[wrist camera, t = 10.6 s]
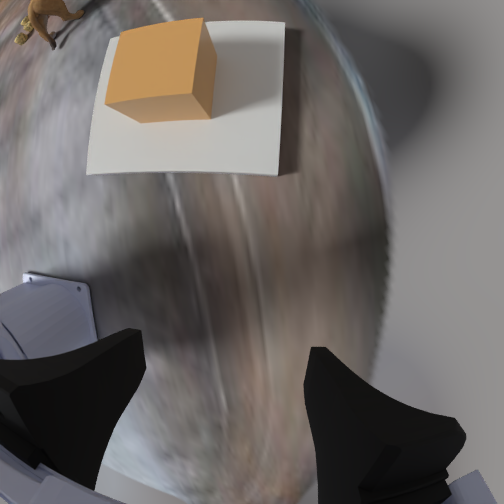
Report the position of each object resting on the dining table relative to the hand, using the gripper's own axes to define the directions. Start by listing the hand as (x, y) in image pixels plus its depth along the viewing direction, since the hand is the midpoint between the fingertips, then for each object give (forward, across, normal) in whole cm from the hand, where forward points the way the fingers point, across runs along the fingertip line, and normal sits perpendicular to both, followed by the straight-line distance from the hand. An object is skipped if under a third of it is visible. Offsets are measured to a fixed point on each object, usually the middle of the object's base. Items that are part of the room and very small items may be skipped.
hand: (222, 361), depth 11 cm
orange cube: (+8, +5, -14) cm, 17 cm away
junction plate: (+9, +5, -14) cm, 18 cm away
